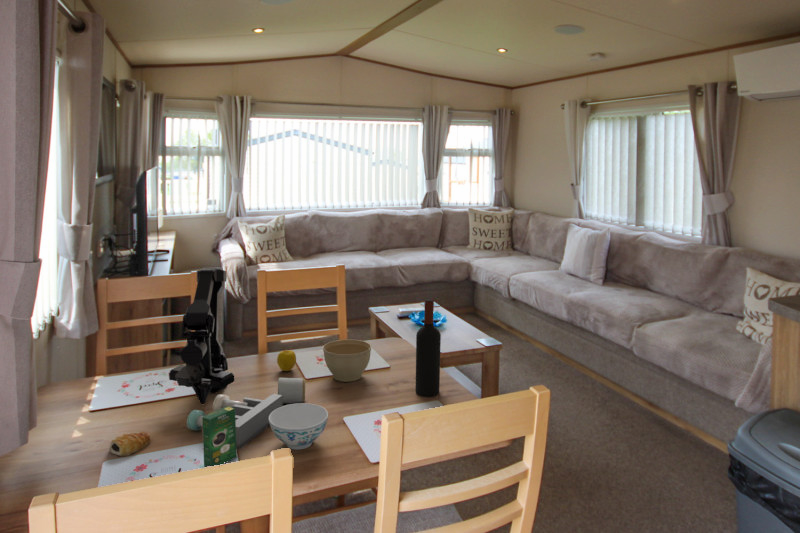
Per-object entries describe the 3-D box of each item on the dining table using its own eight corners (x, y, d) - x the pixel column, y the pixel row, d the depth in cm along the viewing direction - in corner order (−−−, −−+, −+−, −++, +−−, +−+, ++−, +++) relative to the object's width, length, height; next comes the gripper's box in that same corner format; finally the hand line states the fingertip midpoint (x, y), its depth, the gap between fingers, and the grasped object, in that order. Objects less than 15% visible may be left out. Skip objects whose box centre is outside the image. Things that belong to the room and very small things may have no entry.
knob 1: (187, 432, 152) (186, 414, 151) (200, 424, 156) (199, 406, 156) (215, 438, 149) (214, 419, 148) (227, 429, 154) (226, 411, 153)
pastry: (141, 437, 150) (140, 423, 149) (157, 444, 146) (156, 430, 146) (106, 452, 142) (105, 438, 141) (122, 460, 139) (121, 445, 138)
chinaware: (269, 432, 153) (268, 405, 151) (325, 427, 156) (325, 400, 155) (269, 461, 138) (268, 431, 137) (331, 454, 142) (331, 425, 140)
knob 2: (213, 415, 162) (212, 398, 161) (224, 408, 167) (223, 391, 166) (240, 420, 159) (239, 403, 158) (250, 412, 164) (250, 395, 163)
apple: (274, 373, 195) (274, 351, 193) (281, 366, 201) (281, 345, 199) (292, 374, 194) (292, 352, 192) (299, 368, 200) (298, 346, 198)
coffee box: (230, 453, 142) (227, 404, 139) (238, 457, 140) (235, 407, 138) (203, 468, 135) (200, 416, 132) (211, 471, 133) (208, 419, 131)
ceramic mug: (305, 406, 169) (305, 381, 168) (277, 407, 168) (276, 383, 167) (305, 392, 179) (305, 369, 178) (279, 394, 178) (278, 370, 177)
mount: (203, 441, 147) (202, 420, 146) (249, 409, 167) (248, 389, 166) (239, 449, 144) (238, 427, 143) (282, 414, 163) (282, 395, 162)
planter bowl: (376, 370, 198) (376, 341, 196) (363, 388, 183) (363, 356, 181) (333, 366, 202) (332, 337, 200) (316, 383, 186) (315, 352, 184)
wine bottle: (411, 394, 178) (413, 301, 173) (420, 386, 185) (421, 296, 180) (434, 398, 175) (436, 304, 170) (442, 389, 182) (444, 298, 177)
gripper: (153, 357, 158) (157, 410, 161) (209, 366, 152) (212, 420, 155) (180, 345, 169) (183, 395, 172) (234, 353, 163) (236, 404, 166)
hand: (203, 403), depth 166 cm, fingers closed
